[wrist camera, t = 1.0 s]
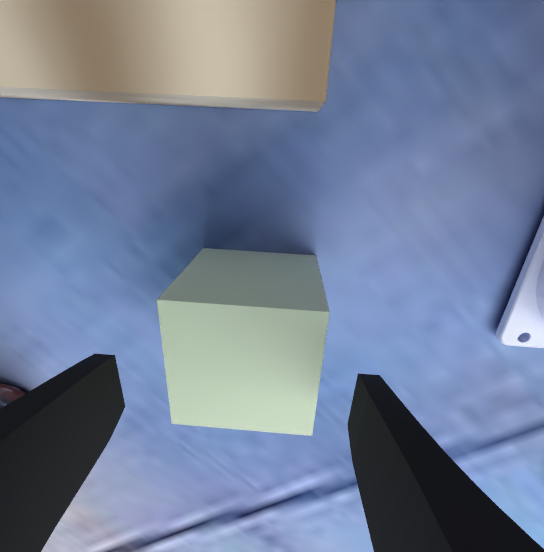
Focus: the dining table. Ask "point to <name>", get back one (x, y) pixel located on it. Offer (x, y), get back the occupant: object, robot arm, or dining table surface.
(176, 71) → the base
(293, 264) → the cube
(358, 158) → the dining table surface
